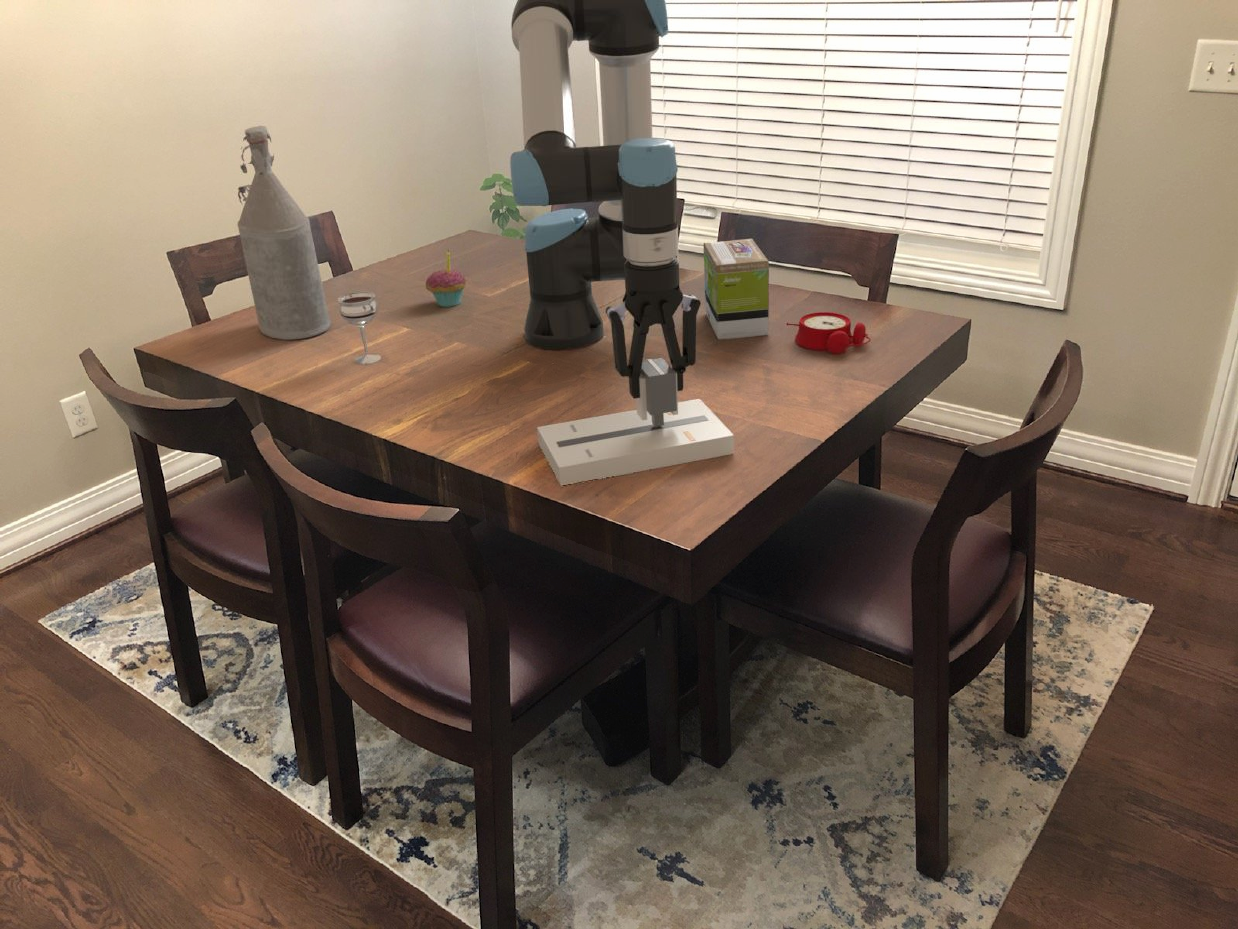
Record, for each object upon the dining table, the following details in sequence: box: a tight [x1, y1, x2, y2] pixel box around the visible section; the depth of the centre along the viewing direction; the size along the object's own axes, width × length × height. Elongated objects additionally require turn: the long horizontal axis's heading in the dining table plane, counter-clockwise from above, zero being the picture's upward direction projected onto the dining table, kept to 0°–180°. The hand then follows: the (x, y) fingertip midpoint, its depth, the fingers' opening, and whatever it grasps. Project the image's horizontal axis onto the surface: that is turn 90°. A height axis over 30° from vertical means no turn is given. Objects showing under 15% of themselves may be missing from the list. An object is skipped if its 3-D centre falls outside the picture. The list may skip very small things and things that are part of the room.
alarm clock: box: [786, 311, 871, 355], centre depth 184 cm, size 10×6×15 cm
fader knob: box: [641, 357, 677, 427], centre depth 148 cm, size 6×4×9 cm, turn 17°
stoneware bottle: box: [236, 125, 331, 341], centre depth 198 cm, size 13×17×40 cm
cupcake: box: [425, 248, 467, 308], centre depth 214 cm, size 9×8×12 cm
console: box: [536, 398, 735, 486], centre depth 150 cm, size 14×26×3 cm, turn 107°
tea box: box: [703, 238, 770, 340], centre depth 192 cm, size 15×10×15 cm
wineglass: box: [337, 291, 382, 365], centre depth 187 cm, size 7×7×12 cm
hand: (657, 413), depth 150 cm, fingers closed on fader knob, 4 cm apart
